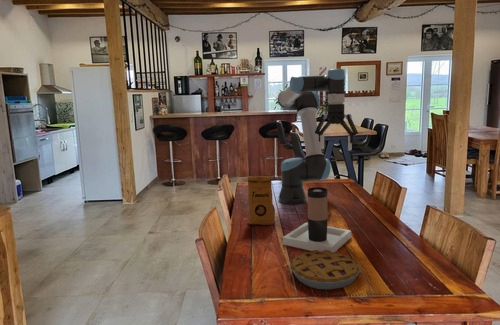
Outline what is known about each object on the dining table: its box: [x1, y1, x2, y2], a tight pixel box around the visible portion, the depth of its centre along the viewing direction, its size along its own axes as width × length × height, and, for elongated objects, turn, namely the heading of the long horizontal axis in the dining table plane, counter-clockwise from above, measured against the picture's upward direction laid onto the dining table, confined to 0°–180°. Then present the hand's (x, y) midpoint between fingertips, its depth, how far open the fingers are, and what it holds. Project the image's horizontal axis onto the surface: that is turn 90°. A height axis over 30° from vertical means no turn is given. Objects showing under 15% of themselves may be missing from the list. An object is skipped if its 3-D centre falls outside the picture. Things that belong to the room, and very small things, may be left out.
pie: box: [289, 250, 361, 290], centre depth 120 cm, size 22×22×5 cm
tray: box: [282, 221, 352, 252], centre depth 148 cm, size 20×20×3 cm
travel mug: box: [307, 186, 328, 242], centre depth 146 cm, size 8×8×20 cm
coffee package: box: [247, 176, 276, 226], centre depth 170 cm, size 10×12×22 cm
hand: (335, 149), depth 175 cm, fingers open, 13 cm apart
